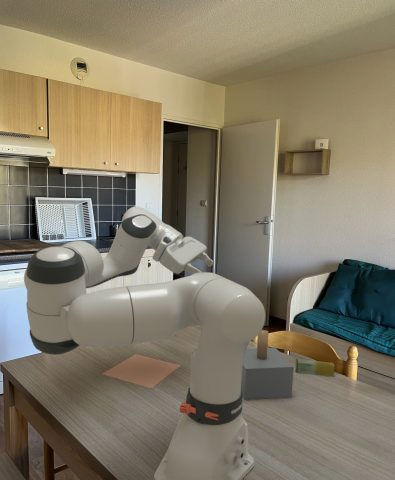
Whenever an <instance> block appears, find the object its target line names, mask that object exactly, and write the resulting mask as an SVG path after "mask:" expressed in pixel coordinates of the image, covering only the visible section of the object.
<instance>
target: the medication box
mask: <svg viewBox="0 0 395 480" xmlns="http://www.w3.org/2000/svg"><path fill="white" fill-rule="evenodd" d="M294 369H295V371H294V373H297V374H307V375H313V376H314V375H315V376H324V377H325V376H326V377H334V375H335V364H334V362H326V361H317V360H311V359H309V360H308V359H301V358H296V359H295V367H294Z"/></svg>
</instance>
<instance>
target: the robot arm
mask: <svg viewBox="0 0 395 480" xmlns="http://www.w3.org/2000/svg"><path fill="white" fill-rule="evenodd" d="M148 246H150V248H151V249H152V250H154V253H153V255H152V260H153V261H155V262H156V263H157V262H159V263H160V264H161V265H162V266H163V267H164V268H166V269H168V271H170V272H172V273H174V274H177V275H179V274H180V273H182V272H183V271H185V272H187V273H189V274H191V275H188V276H184V277H180V278H177V279H174V280H170V281H165V282H157V283H147V284H139V285H138V284H137V285H129V286H127V285H125V286H118V287H111V288H105V289H99V290H97V291H92V292H89V293H87V289H91V288H94V287H97V286H99V285H103V284H104V283H106V282H109V281H112V280H114V279H115V278H120V277H126V276H131V275H133V274H135V273H137V271H138V269H139V266H140V263H141V260H142V258H143V256H144V254H145V252H146V250H147V248H148ZM207 249H208V248H207V246H206V245H205V244H204V243H202V242H201V241H199V240H198V239H196V238H194V237H192V236H189V235H188V236H184V235H183V234H182V233H181V232H180V231H178V230H177V229H176V228H174V227H173V226H171V225H169V224H166V223H165V222H164V221H162V219H160V218H159V217H158V216H156V214H154V213H152V212H150V211H148V210H147V209H145V208H142V207H140V206H137V205H136V206H132V207H130V208H128V209H127V210H126V211H125V212H124V214H123V216H122V217H121V223H120V225H119V227H118V229H117V232H116V233H115V237H114V239H113V242H112V243H111V246H110V248H109V250H108V252H107V254H106V256H105V258H103V257H102V255H101V253H100V251H99V250H98V249H97V248H96V247H95V246H94V245H92V244H91V243H89V242H87V241H83V240H75V241H69V242H67V243H65V244H62V245H60V246H59V245H58V246H56V245H55V246H47V247H43V248H41V249H39V250H36V252H34V253H33V254H32V255H31V257H30V258H29V259H28V262H27V266H26V269H25V271H24V275H23V282H24V285H25V288H26V299H27V300H26V304H25V306H26V313H27V319H28V320H27V321H28V325H29V337H30V339H31V342H32V345H33V346H34V348H35V349H36V350H37V351H39V352H42V353H44V354H47V355H50V356H51V355H52V356H53V355H57V356H58V355H63V354H66V353H69V352H72V351H73V350H75V349H77V348H78V347H80V346H82V347H92V348H93V347H94V348H96V347H97V348H99V347H101V348H104V347H105V348H106V347H121V346H122V347H123V346H127V345H128V346H129V345H136V344H143V343H149V342H157V341H161V340H168V339H171V338H172V337H173V336H174V335H176V333H177V332H180V331H181V330H184V329H187V328H189V327H193V326H194V327H195V326H200V328H201V329H200V330H201V333H200V339H199V342H198V345H197V347H196V348H195V350H193V351H192V353H191V356H190V370H189V371H190V373H189V374H190V375H189V386H188V387H189V388H188V389H187V393H186V396H185V397H186V398H185V402H184V401H183V402H181V403H180V406H179V413H182V414H181V417H180V418H179V421H178V424H177V426H176V429H175V430H174V433H173V435H172V438H171V440H170V443H169V445H168V448H167V450H166V452H165V454H164V456H163V457H162V459H161V461H160V463H159V465H158V466H157V468H156V471H155V472H154V474H153V480H243V478H244V477H246V475H247V474H249V473H250V471H251V470H252V469H253V468H254V467H255V460H254V458H253V457H252V456H251V454H249V425H248V423H247V421H246V419H244V416H243V413H242V412H243V405H244V398H243V393H242V391H241V382H242V368H243V359H244V355H245V352H246V349H248V346H249V344H250V342H251V341H252V340H254V339H256V338H257V337H258V334H259V333H260V332H261V330H263V328H264V326H265V322H266V310H265V307H264V304H263V303H262V301H261V300H260V299H259V298H258V297H257V296H256V294H254V293H253V292H252V291H251V290H250V289H249V288H247V287H246V286H243V285H241V284H239V283H237V282H235V281H233V280H232V279H231V280H230V279H228V278H226V277H224V276H222V275H219V274H218V273H214V272H207V271H205V272H204V271H203V270H202V269H200V268H199V267H195V266H193V265H192V264H194V263H195V262H196V261H198V260H199V259H200V260H201V261H203V262H204V263H205V265H206V266H207V267H209V268H210V267H211V266H213V264H214V260H212V259H211V257H209V256H208V254H207V253H206V251H207Z"/></svg>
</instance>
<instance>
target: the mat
mask: <svg viewBox="0 0 395 480" xmlns="http://www.w3.org/2000/svg"><path fill="white" fill-rule="evenodd" d="M181 366H182V365H181V364H178V363H174V362H169V361H165V360H161V359H158V358H152V357H149V356H146V355H141V354H138V353H135V354H133V355H132V356H130V357H128V358H126V359H124V360H122V361H121V362H119V363H118V364H117V365H115V366H112V367H111V368H110V369H107V370H105V372H102V376H106V377H110V378H114V379H117V380H121V381H124V382H127V383H131V384H134V385H137V386H141V387H145V388H148V389H153V388H154V387H155V386H156V385H158V384H159V383H160V382H162V381H163V380H164V379H165V378H168V376H169V375H171V374H172V373H173V372H174V371H176V370H177V369H178V368H180V367H181Z"/></svg>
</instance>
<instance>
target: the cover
mask: <svg viewBox="0 0 395 480" xmlns="http://www.w3.org/2000/svg"><path fill="white" fill-rule="evenodd" d="M268 342H269V331H268V330H266V329H262V330H261V332H260V333H259V334H258V335H257V344H256V345H257V346H256V347H257V348H247V349H246V352H245V355H244V359H243V368H242V382H241V391H242V393H243V401H245V400H246V401H247V400H264V399H280V398H281V399H283V398H286V399H287V398H292V397H293V383H294V382H293V381H294V369H295V367H294V365H292V363H291V362H290V361H289V360H288V359H287V358H286V357H285V356H284V355H283V354H282V353H281V352H280V351H279V350H278V349H277V348H276V347H268V344H269V343H268Z"/></svg>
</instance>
